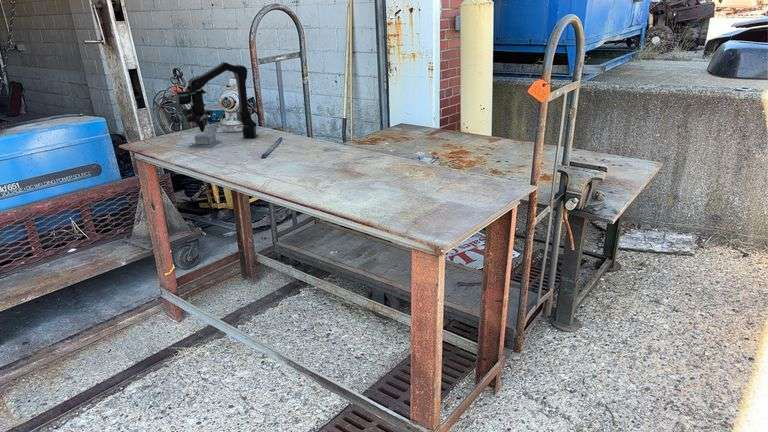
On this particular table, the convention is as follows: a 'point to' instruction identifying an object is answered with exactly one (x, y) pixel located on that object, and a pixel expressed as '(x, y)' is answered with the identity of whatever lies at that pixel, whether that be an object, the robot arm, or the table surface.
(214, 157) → the table surface
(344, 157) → the table surface
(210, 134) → the medicine box
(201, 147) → the slate mat
